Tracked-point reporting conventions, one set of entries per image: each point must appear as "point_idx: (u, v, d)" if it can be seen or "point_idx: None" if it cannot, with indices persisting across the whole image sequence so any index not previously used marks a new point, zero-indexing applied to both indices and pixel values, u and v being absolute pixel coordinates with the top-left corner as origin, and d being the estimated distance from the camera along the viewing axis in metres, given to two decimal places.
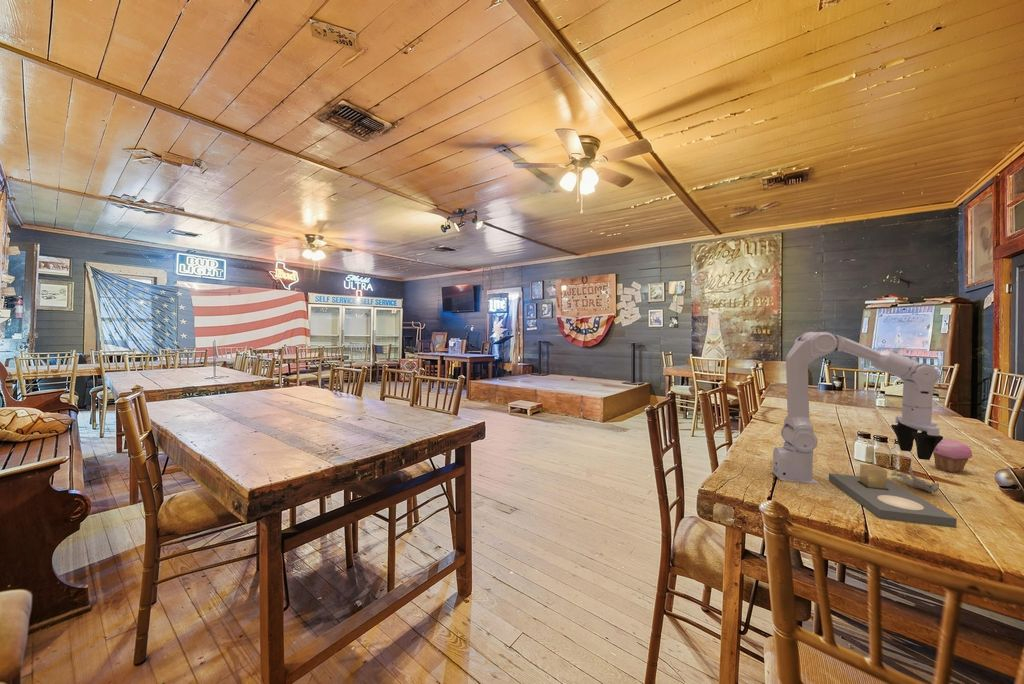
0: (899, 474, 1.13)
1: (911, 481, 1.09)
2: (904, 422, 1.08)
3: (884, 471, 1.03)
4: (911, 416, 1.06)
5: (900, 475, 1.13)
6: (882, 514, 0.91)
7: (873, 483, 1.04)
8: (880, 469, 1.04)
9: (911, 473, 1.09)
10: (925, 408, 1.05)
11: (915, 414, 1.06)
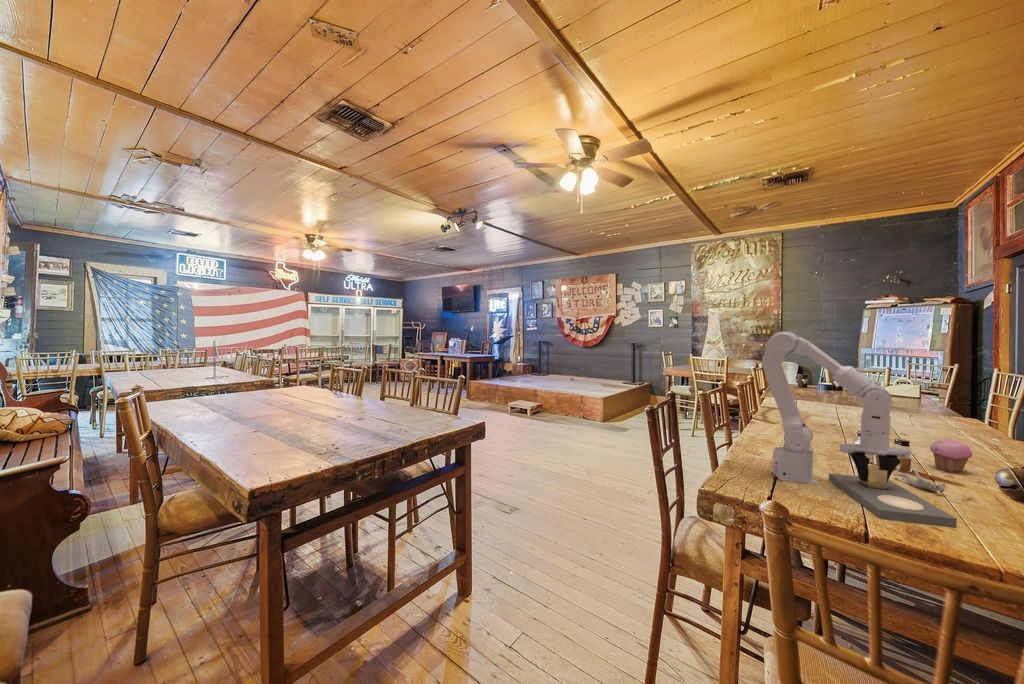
0: (902, 474, 1.13)
1: (916, 481, 1.09)
2: None
3: (884, 471, 1.03)
4: None
5: (903, 475, 1.13)
6: (882, 514, 0.91)
7: (873, 483, 1.04)
8: (880, 469, 1.04)
9: (916, 473, 1.09)
10: (863, 430, 1.05)
11: None
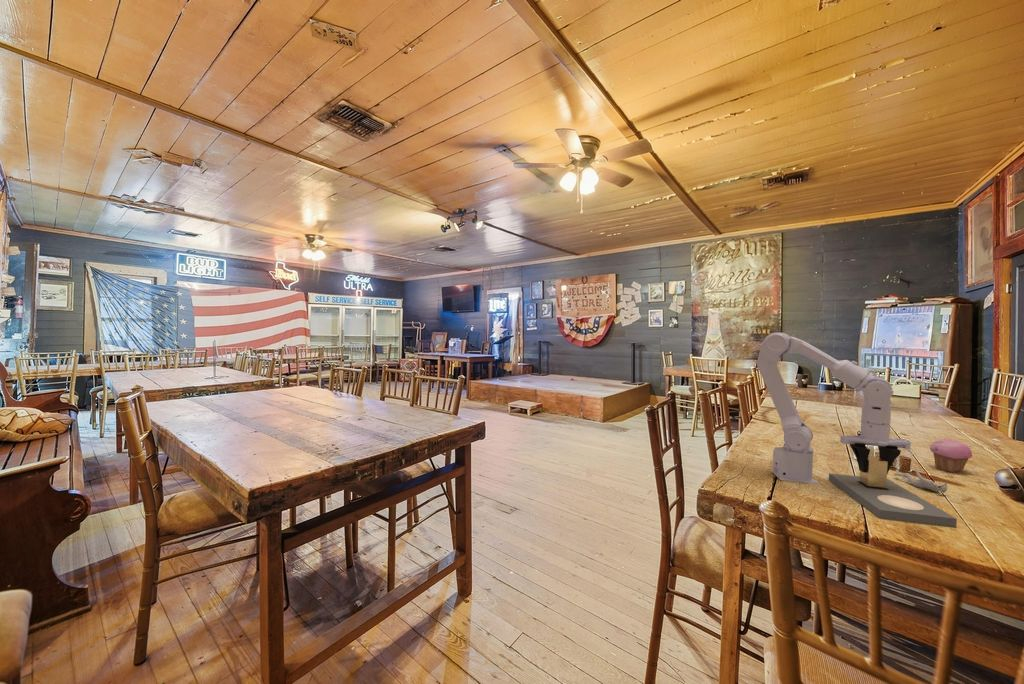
0: (903, 474, 1.13)
1: (917, 481, 1.09)
2: None
3: (884, 462, 1.03)
4: None
5: (904, 475, 1.13)
6: (882, 514, 0.91)
7: (874, 475, 1.03)
8: (880, 460, 1.03)
9: (918, 473, 1.09)
10: (863, 422, 1.05)
11: (861, 427, 1.07)
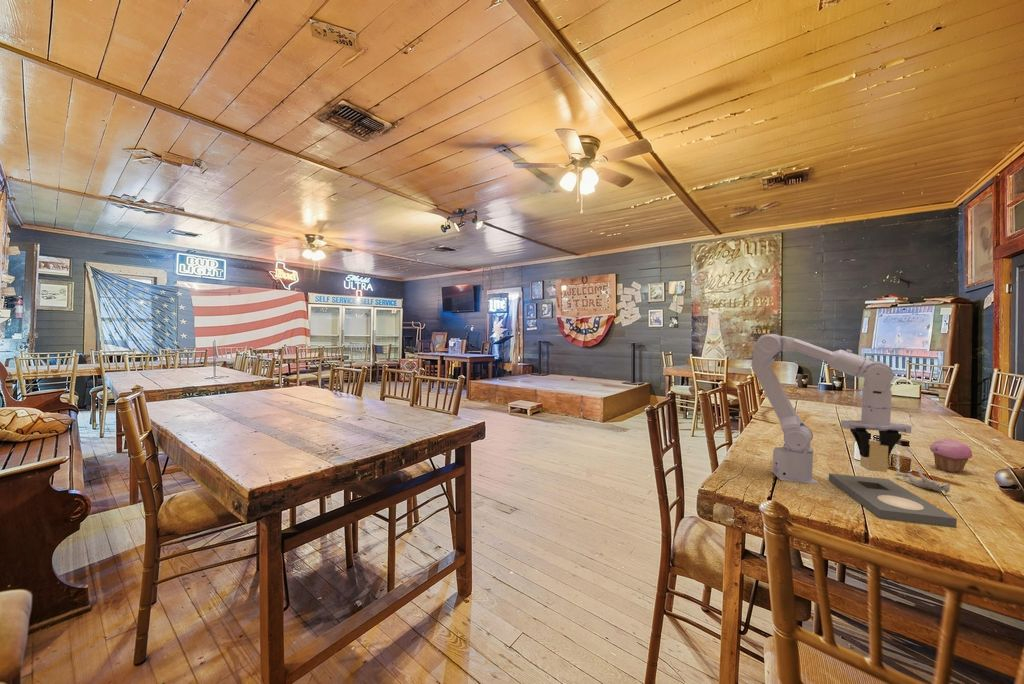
0: (904, 474, 1.13)
1: (919, 481, 1.09)
2: None
3: (885, 446, 1.03)
4: None
5: (906, 475, 1.13)
6: (882, 514, 0.91)
7: (875, 459, 1.03)
8: (881, 444, 1.03)
9: (920, 473, 1.08)
10: (864, 406, 1.05)
11: None
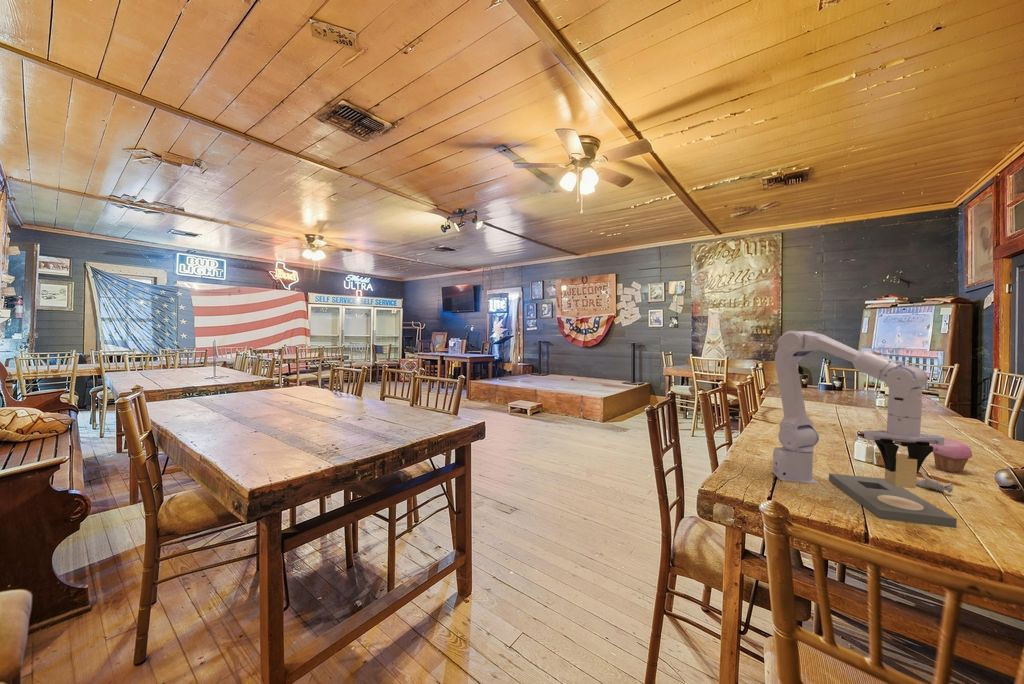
0: None
1: (922, 481, 1.09)
2: None
3: (914, 460, 0.92)
4: None
5: None
6: (882, 514, 0.91)
7: (902, 474, 0.93)
8: (909, 458, 0.93)
9: (923, 473, 1.08)
10: (890, 415, 0.94)
11: (887, 421, 0.96)
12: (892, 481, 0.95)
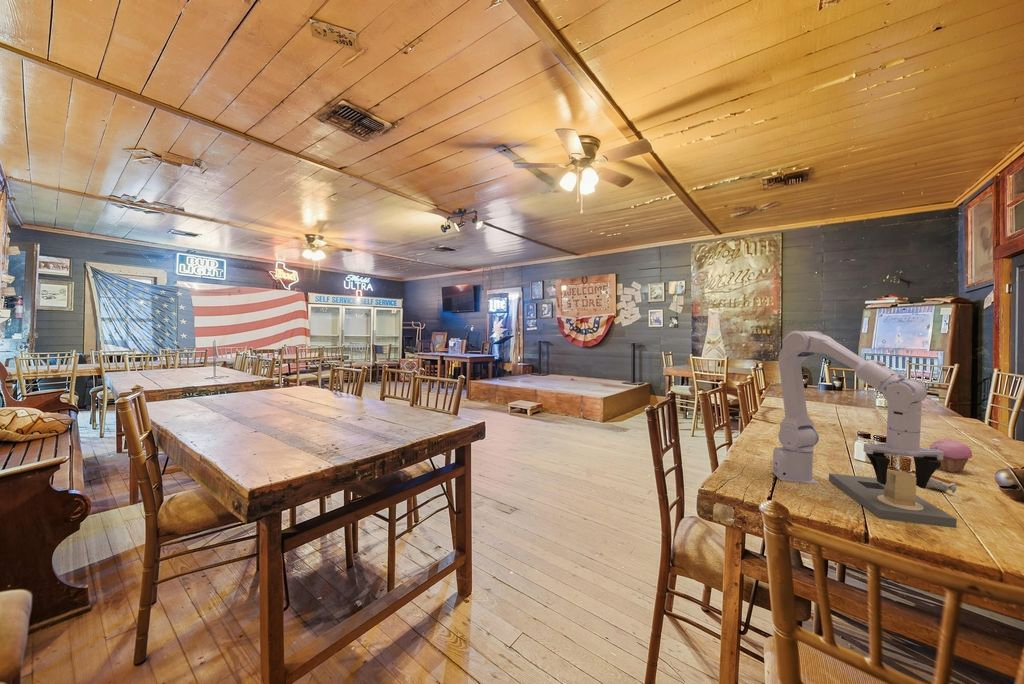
0: None
1: None
2: None
3: (913, 478, 0.92)
4: None
5: None
6: (882, 514, 0.91)
7: (901, 492, 0.93)
8: (908, 475, 0.93)
9: None
10: (889, 429, 0.95)
11: None
12: (891, 498, 0.95)
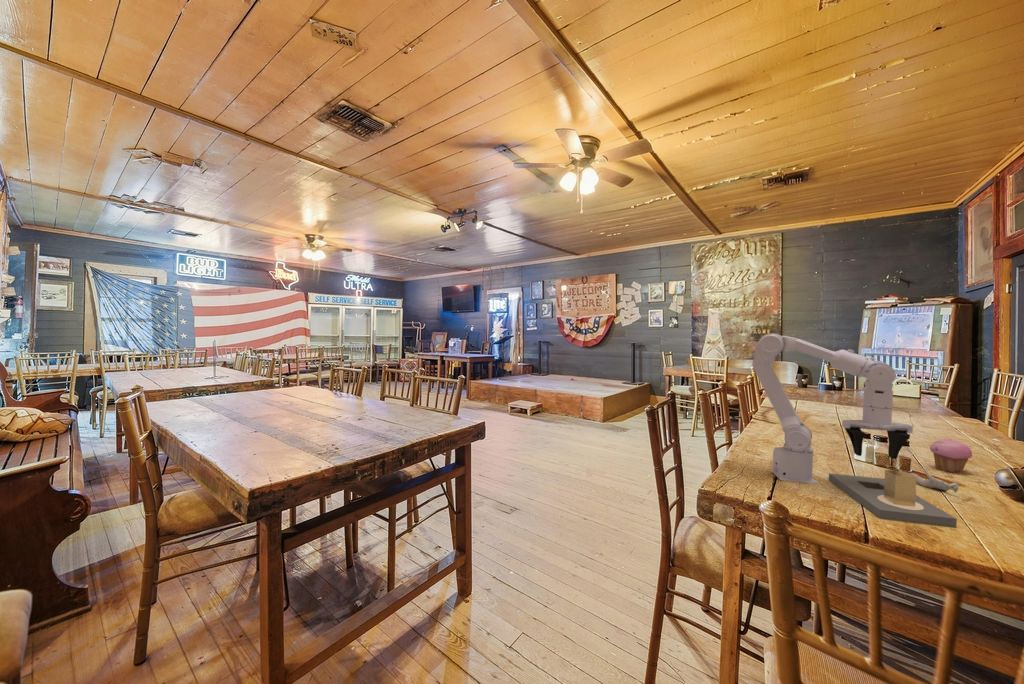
0: None
1: (926, 481, 1.09)
2: None
3: (913, 478, 0.92)
4: None
5: None
6: (882, 514, 0.91)
7: (901, 492, 0.93)
8: (908, 475, 0.93)
9: (928, 473, 1.09)
10: (865, 406, 1.05)
11: (863, 411, 1.07)
12: (891, 498, 0.95)
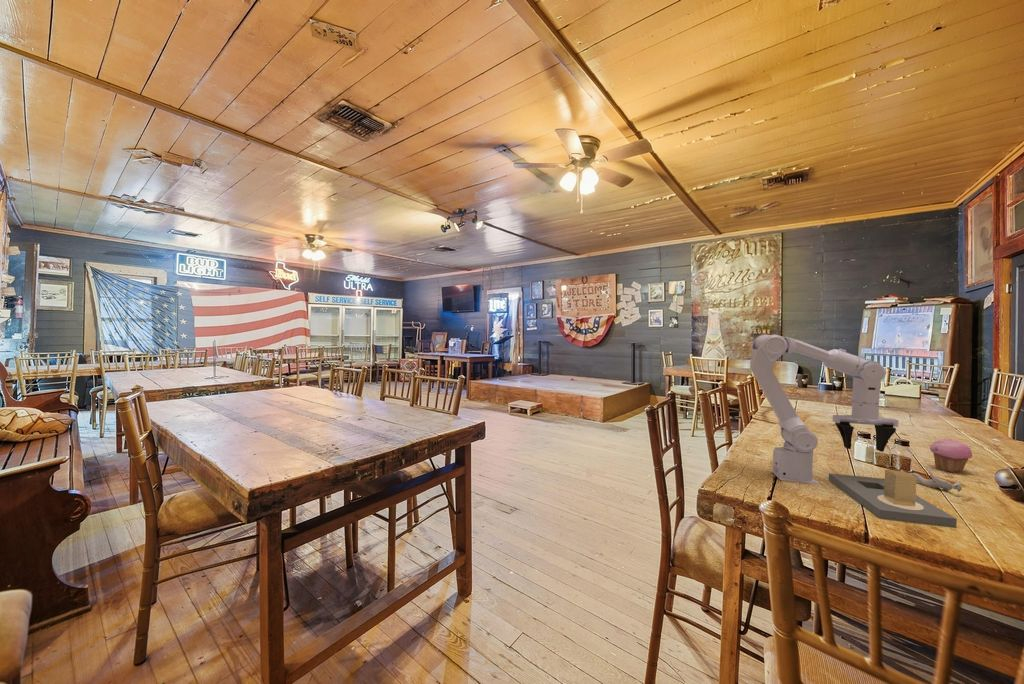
0: (911, 474, 1.13)
1: (929, 481, 1.10)
2: None
3: (913, 478, 0.92)
4: None
5: None
6: (882, 514, 0.91)
7: (901, 492, 0.93)
8: (908, 475, 0.93)
9: (931, 473, 1.09)
10: (854, 401, 1.11)
11: (852, 407, 1.13)
12: (891, 498, 0.95)
